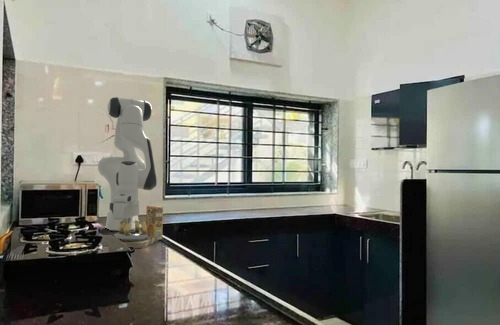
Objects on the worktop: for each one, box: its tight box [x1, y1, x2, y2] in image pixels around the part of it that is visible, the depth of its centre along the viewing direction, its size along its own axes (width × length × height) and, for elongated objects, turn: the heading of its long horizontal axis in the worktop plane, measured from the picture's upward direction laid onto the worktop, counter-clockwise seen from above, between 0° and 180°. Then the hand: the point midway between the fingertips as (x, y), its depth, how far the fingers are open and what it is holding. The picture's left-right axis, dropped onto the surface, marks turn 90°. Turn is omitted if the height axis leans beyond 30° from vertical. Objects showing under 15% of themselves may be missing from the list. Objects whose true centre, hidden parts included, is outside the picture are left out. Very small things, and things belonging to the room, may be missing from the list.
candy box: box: [145, 205, 164, 241], centre depth 183 cm, size 9×4×15 cm, turn 44°
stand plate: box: [122, 236, 159, 249], centre depth 169 cm, size 18×17×2 cm
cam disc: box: [113, 219, 148, 241], centre depth 168 cm, size 14×14×7 cm
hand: (126, 227), depth 174 cm, fingers closed
